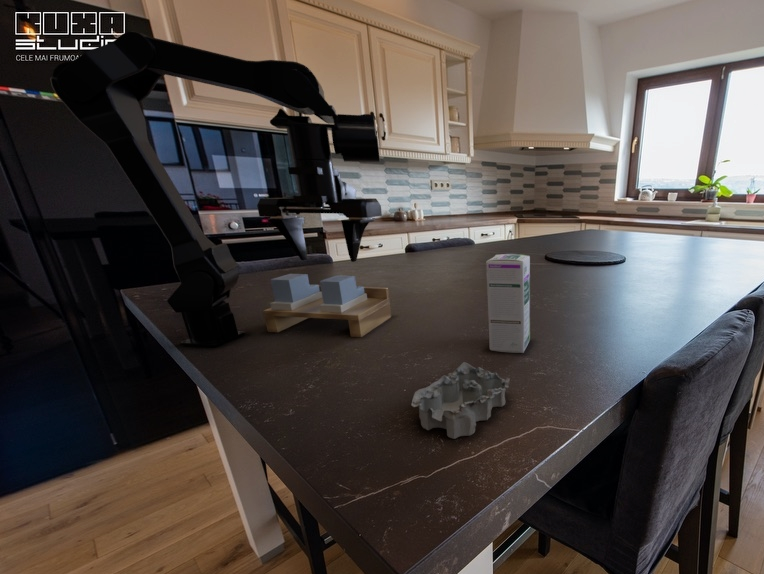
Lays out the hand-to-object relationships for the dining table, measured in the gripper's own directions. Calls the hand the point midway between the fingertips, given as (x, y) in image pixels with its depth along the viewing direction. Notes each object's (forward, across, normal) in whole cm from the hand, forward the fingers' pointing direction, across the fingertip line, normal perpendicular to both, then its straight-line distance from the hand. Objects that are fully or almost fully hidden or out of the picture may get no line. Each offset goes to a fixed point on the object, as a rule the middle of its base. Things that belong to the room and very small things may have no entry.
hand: (328, 260), depth 68 cm
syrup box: (+13, -32, +4) cm, 35 cm away
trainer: (+8, 0, -1) cm, 9 cm away
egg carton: (+13, -30, +25) cm, 41 cm away
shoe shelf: (+12, +3, -3) cm, 13 cm away
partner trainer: (+9, +9, -2) cm, 13 cm away
